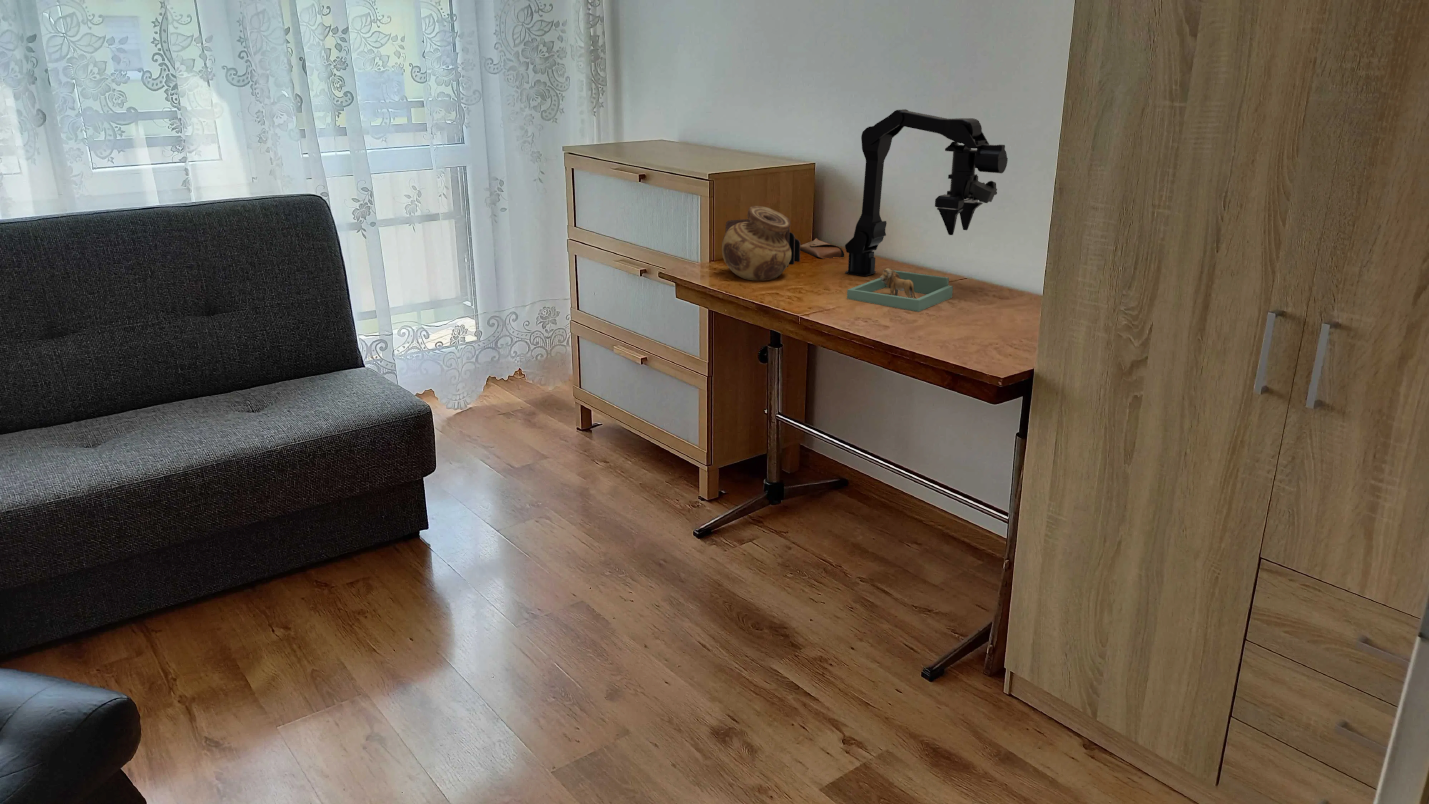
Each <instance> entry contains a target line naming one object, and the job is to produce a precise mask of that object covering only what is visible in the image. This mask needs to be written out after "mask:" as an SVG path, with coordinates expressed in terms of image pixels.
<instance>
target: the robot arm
mask: <svg viewBox="0 0 1429 804" xmlns="http://www.w3.org/2000/svg"><path fill="white" fill-rule="evenodd" d="M905 127H906V128H910V129H914V130H920V131H923V132H924V131H925V132H929V133H933V134H937V135H940V136H941V135H942V136H943V137H945V138H946V139H948V140H951V141H952V142H950V144H949V145H947V146H946V147H945V148H944V151H945V152H952V161H951V173H950V174H948V177H947V179H948V180H949V179H950V185H949V190H947V192H946V193H945V194H939V195H938V196H937V197H936V198H935V200H934V207H935V208H936V210H937V211H938V213H939V214H940V216H941V217H940V218H942V222H943V223H944V226H945V230H946V232H947V235H949V236H954V233H955V229H956V224H957V220H958V215H959V217H960V222H961V227H962V230H963V231H968V230H969V227H970V225H971V222H972V218H973V217H974V216H973V215H974V213H975V211H976V209H977V208H980V206H981V205H983V204H988V203H992V201H993V199H994V197H995V196H996V195H997V194H998V188H997V182H995V181H993V180H989V181H987V182H986V183H985V182H982V181H979V176H978V173H977V174H976V169H977V170H978V172H979V173H980V172H981V173H990V174H991V173H992V174H1003V173H1005V171H1006V169H1007V165H1008V161H1009V160H1008V156H1007V155H1008V154H1007V151H1006V145H1005V144H990V142H989V141H988V140H987V138H986V136H985V134H984V133H983V129H982V125H981V123H980V121H979V119H977V118H971V117H970V118H969V117H968V118H967V117H966V118H964V117H963V118H961V117H960V118H959V117H958V118H957V117H956V118H947V117H942V116H937V115H931V114H926V113H921V112H915V111H912V110H911V111H910V110H908V109H906V108H905V109H903V108H902V109H895V110H894V111H892V112H891V114H889V115H887V116H886V117H885V118H883V119H882V120H880V121H878V122H876V123H875V124H874V125H872V126H867V127H866V128H865V129H864V130H863V131H862V133H861V136H860V137H861V149H862V153H863V156H864V158H865V168H864V170H865V171H864V180H863V194H862V206H861V214H860V216H859V218H858V221H857V223H856V225H855V228H854V233H853V237H851V239H850V240H849V241H847V242H846V244H844V248H845V251H846V253H847V254H848V263H847V265H848V266H847V271H845V272H844V273H845V274H846V275H853V276H860V277H868V276H870V275H873V274H877V271H876V257H875V251H877V249H878V247H879V245H880V244H881V243H882V242H883V240H884V239H885V238H884V237H886V236H887V234H886V228H887V220H882V218H881V213H880V212H881V198H882V189H883V177H884V176H883V175H884V164H885V163H884V162H885V160H886V158H887V156H888V154H889V152H890V149H891V145H892V142H893V138H894V137H895V136H898V134H899V133H900V132H901V131H902V130H903V128H905Z"/></svg>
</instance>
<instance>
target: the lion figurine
mask: <svg viewBox="0 0 1429 804" xmlns="http://www.w3.org/2000/svg"><path fill="white" fill-rule="evenodd" d="M893 270H894V269H892V268H887V267H886V268H884V269H883V271H882V274H881V275H880V276H879V278H880V279H881V281H882V282H884V283H885V284H886V285H887V287H888V288H887V287H886V288H887V289H889V290H890V295H894V296H899V292H904V294H905V295H906V297H908V298H914V299H917V297H916V292H914V284H913V282H912V281H911V280H903V279H901V278H900V276H899V275H898V274H897V273H896V272H895V271H893Z"/></svg>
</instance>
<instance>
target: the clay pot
mask: <svg viewBox="0 0 1429 804" xmlns="http://www.w3.org/2000/svg"><path fill="white" fill-rule="evenodd" d="M746 216H747V219H749V220H750V221H751V222H740V223H737V224H735V225H733V226H732V227H730V228H729V229H728V231H727V232H726V231H725V233H724V235H723V239H722V243H721V253H722V254H721V255H722V259H723V261H724V264H726V266H727V267H728V269H729V270H730V271H731V272H732V273H733V274H735V275H736V276H737V277H740V278H741V279H743V280H747V281H771V280H775V279H777V278H778V277H779V276H781V274H783V272H784V271H785V270H786V269H787V268H788V267H789V265H790V264H789V262H790V260H791V255H792V253H791V248H790V246H789V244H788V242H787V241H786V239H785V234H786V232H787V231H788V229H789V228H790V226H791V224H792V222H791V219H790V218H789V217H787V216H786V215H784V214H783V213H782V212H779V211H777V210H775V209H772V208H770V207H768V206H762V205H761V206H760V205H751V206H750V207H748V210H747V215H746ZM787 266H788V267H787Z"/></svg>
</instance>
